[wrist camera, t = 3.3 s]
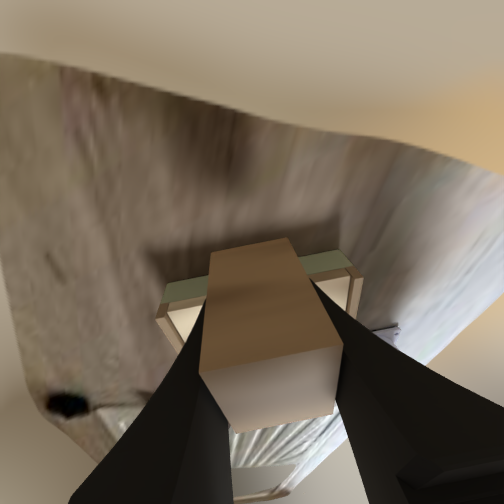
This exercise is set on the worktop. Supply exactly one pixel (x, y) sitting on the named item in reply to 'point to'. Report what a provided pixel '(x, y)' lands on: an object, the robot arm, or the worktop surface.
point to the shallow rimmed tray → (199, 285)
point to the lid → (189, 309)
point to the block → (267, 339)
